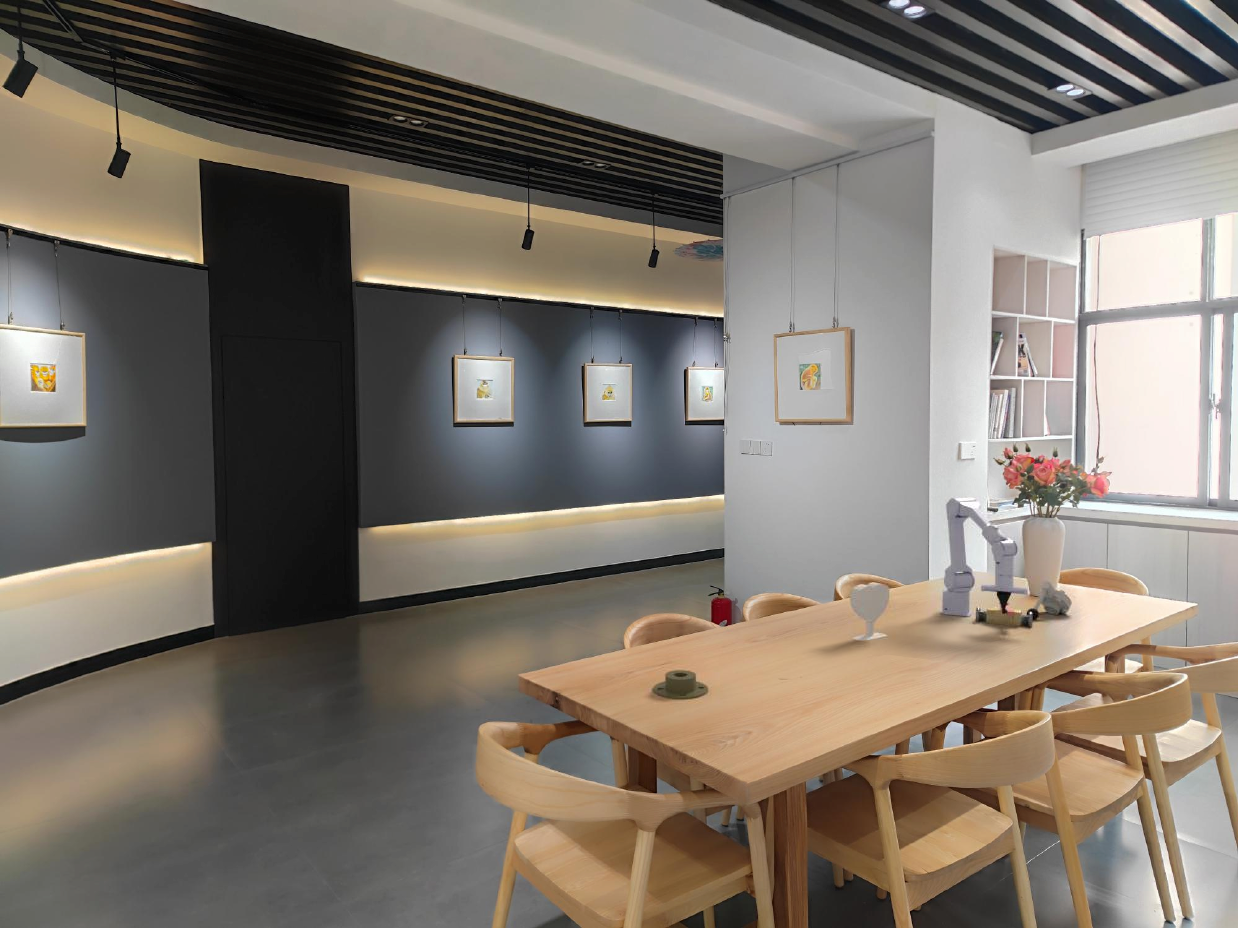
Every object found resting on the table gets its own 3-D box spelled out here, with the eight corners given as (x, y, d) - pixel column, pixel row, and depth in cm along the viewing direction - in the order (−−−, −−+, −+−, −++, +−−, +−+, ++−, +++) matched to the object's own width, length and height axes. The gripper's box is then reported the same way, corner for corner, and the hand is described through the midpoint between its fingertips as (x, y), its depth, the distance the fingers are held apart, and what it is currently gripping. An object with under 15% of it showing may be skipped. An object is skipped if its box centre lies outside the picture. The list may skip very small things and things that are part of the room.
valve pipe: (975, 625, 292) (975, 608, 292) (977, 621, 297) (977, 604, 297) (1031, 630, 283) (1031, 613, 283) (1032, 627, 288) (1032, 609, 288)
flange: (703, 665, 230) (651, 667, 230) (711, 682, 215) (655, 684, 215) (704, 682, 231) (651, 683, 230) (711, 699, 216) (655, 701, 215)
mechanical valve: (1077, 606, 301) (1060, 579, 296) (1059, 643, 294) (1042, 616, 289) (1049, 603, 310) (1033, 577, 305) (1031, 639, 302) (1014, 612, 297)
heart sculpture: (879, 631, 281) (879, 580, 280) (891, 634, 276) (891, 582, 276) (848, 638, 273) (848, 585, 272) (859, 641, 268) (859, 588, 267)
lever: (998, 607, 292) (998, 601, 291) (1007, 607, 291) (1007, 601, 291) (1006, 615, 279) (1006, 609, 279) (1015, 615, 278) (1015, 609, 278)
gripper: (980, 574, 281) (979, 613, 282) (1026, 578, 274) (1026, 617, 275) (982, 571, 287) (982, 609, 288) (1028, 574, 280) (1027, 613, 281)
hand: (1003, 613), depth 282 cm, fingers closed, pressing on lever
